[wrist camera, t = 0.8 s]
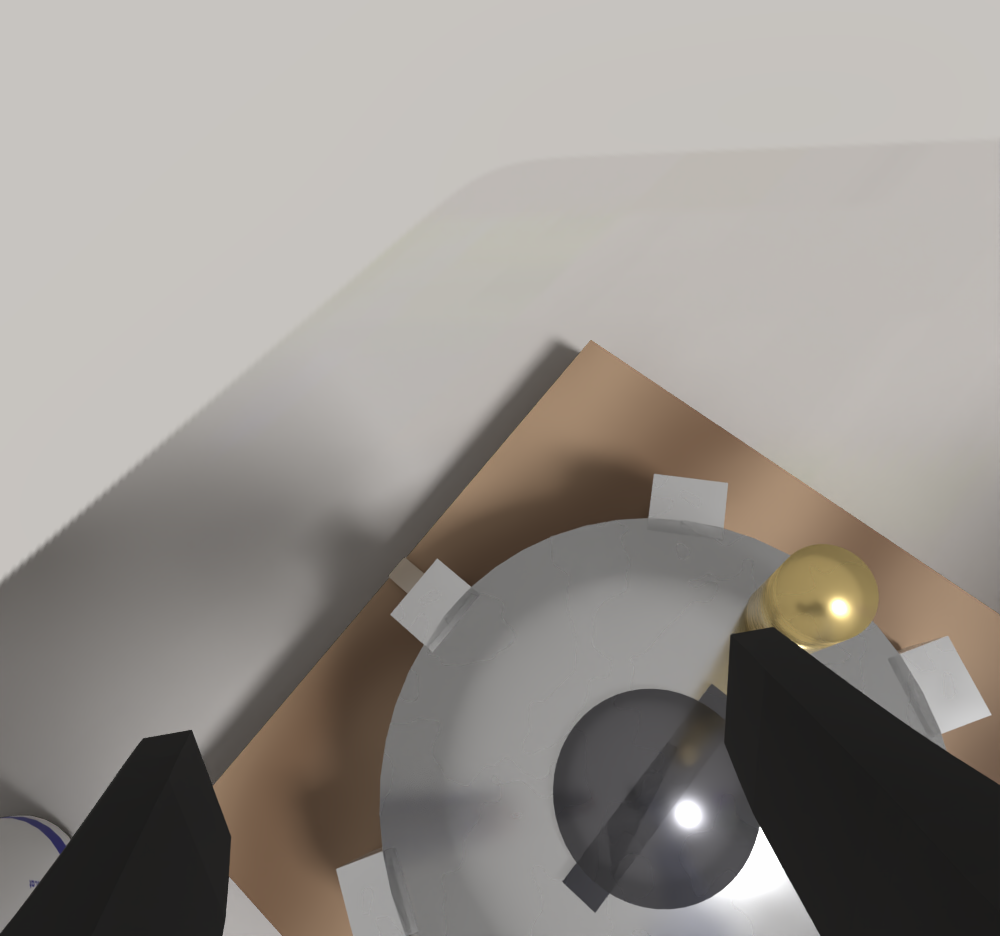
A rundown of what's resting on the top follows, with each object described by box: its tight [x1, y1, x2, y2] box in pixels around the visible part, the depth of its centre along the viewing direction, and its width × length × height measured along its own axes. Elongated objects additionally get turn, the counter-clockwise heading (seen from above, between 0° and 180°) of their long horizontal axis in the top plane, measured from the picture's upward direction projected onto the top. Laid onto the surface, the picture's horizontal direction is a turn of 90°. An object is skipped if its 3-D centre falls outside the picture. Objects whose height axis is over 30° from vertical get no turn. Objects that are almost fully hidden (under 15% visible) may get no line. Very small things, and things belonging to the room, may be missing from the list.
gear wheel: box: [336, 474, 992, 936], centre depth 19 cm, size 15×16×7 cm
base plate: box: [213, 340, 1000, 936], centre depth 23 cm, size 20×20×2 cm
